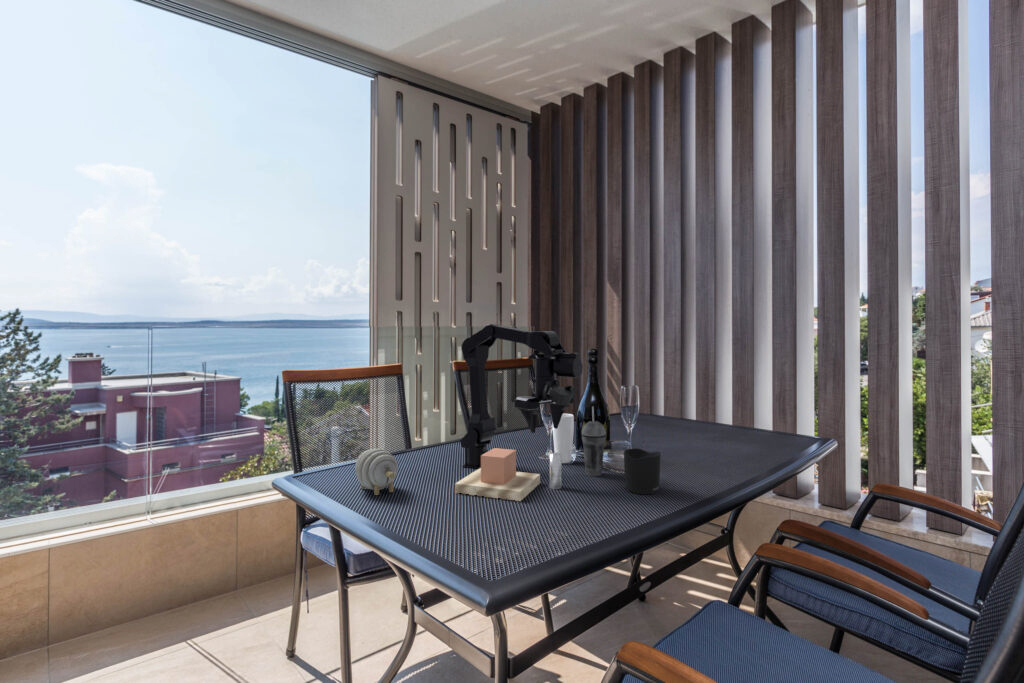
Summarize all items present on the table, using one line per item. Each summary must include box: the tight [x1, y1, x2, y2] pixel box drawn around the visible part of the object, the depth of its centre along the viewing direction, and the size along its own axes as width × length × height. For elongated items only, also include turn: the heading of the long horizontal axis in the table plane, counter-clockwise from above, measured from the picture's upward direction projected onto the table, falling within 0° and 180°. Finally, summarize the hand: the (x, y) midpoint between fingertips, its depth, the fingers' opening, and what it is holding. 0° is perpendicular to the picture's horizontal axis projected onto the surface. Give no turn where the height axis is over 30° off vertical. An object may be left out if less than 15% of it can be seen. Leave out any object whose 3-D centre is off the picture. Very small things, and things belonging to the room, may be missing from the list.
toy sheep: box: [354, 448, 399, 496], centre depth 138 cm, size 11×17×11 cm, turn 46°
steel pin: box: [549, 452, 563, 490], centre depth 141 cm, size 3×3×9 cm
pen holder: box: [623, 448, 662, 495], centre depth 139 cm, size 9×9×10 cm
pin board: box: [454, 468, 541, 502], centre depth 140 cm, size 18×16×2 cm
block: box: [481, 447, 517, 485], centre depth 140 cm, size 6×9×7 cm
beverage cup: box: [581, 406, 608, 477], centre depth 153 cm, size 7×7×20 cm
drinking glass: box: [551, 412, 575, 464], centre depth 167 cm, size 7×7×15 cm
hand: (544, 430), depth 148 cm, fingers open, 9 cm apart
